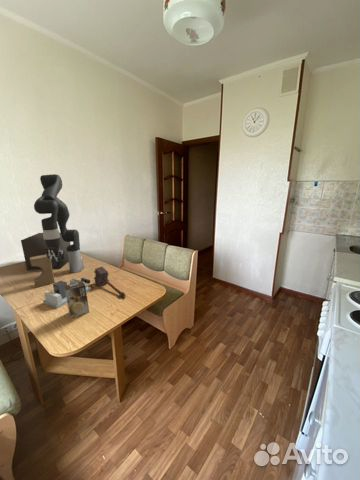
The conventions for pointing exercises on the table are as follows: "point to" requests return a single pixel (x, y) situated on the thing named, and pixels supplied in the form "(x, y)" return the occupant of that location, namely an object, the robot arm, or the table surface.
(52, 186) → the robot arm
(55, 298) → the vise base
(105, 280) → the hammer
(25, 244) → the dark grey angular block
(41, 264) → the decorative block
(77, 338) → the table surface
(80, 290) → the coffee box
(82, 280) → the free jaw
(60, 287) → the steel block
